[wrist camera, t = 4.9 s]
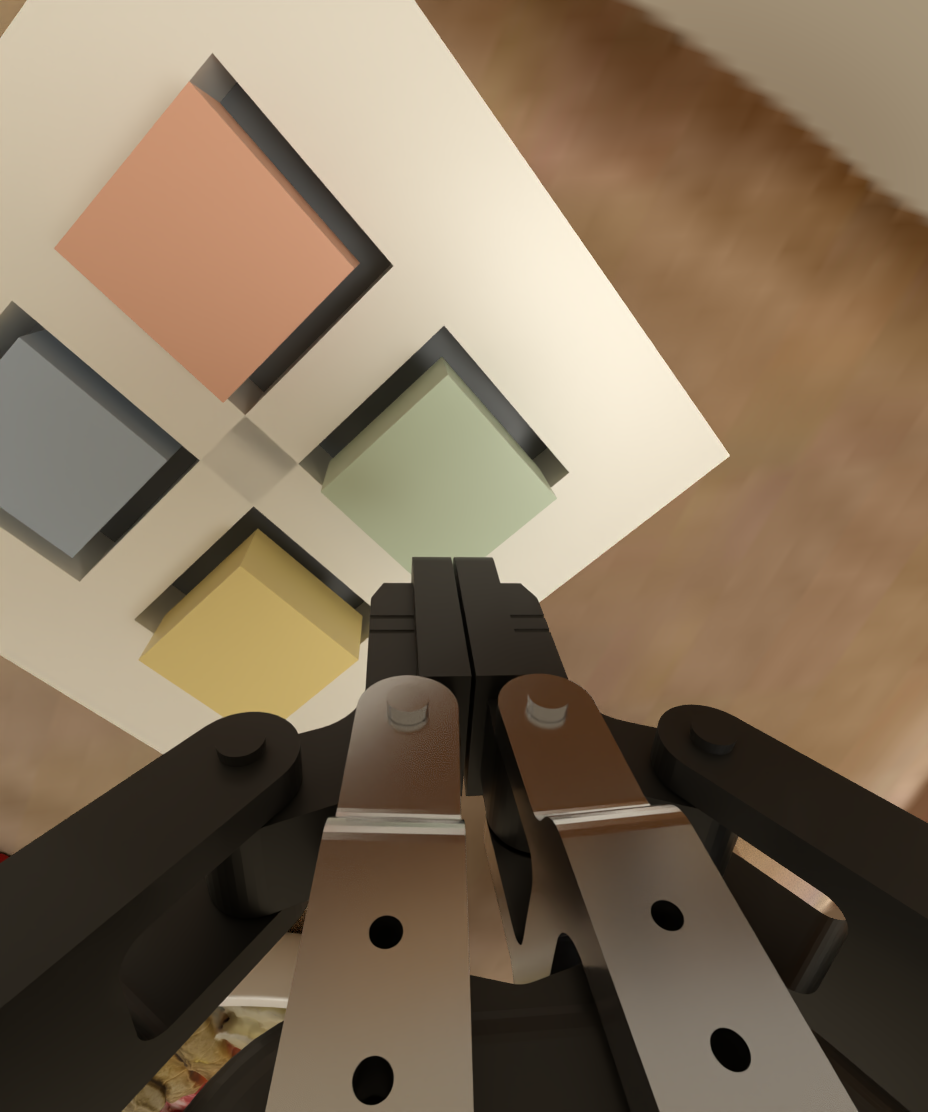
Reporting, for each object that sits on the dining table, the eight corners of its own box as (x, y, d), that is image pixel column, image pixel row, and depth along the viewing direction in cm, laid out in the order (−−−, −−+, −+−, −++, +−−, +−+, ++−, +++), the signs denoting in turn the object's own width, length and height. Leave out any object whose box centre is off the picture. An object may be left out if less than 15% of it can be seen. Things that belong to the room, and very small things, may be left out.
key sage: (539, 468, 19) (557, 498, 17) (431, 558, 20) (435, 597, 18) (441, 356, 17) (447, 374, 15) (329, 461, 18) (320, 492, 16)
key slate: (192, 435, 20) (167, 460, 18) (105, 524, 21) (72, 558, 19) (63, 324, 18) (18, 337, 16) (-24, 427, 19) (-77, 452, 17)
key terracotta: (360, 262, 16) (354, 268, 14) (244, 380, 17) (223, 402, 15) (220, 102, 14) (188, 80, 12) (101, 245, 15) (53, 248, 13)
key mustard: (362, 615, 21) (358, 659, 19) (272, 691, 22) (259, 740, 20) (257, 528, 19) (240, 566, 17) (165, 614, 20) (138, 660, 18)
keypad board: (676, 418, 23) (729, 455, 19) (280, 737, 28) (262, 815, 24) (264, -155, 15) (221, -278, 12) (-176, 425, 20) (-305, 469, 17)
